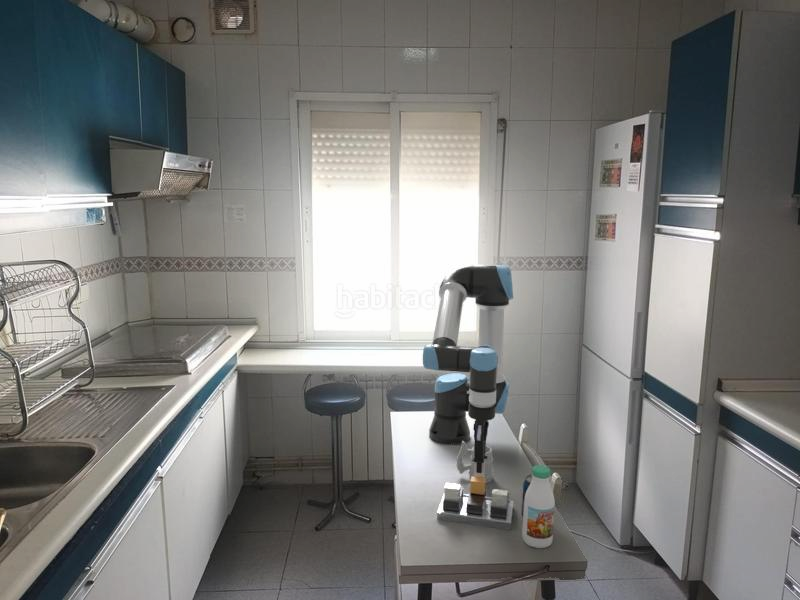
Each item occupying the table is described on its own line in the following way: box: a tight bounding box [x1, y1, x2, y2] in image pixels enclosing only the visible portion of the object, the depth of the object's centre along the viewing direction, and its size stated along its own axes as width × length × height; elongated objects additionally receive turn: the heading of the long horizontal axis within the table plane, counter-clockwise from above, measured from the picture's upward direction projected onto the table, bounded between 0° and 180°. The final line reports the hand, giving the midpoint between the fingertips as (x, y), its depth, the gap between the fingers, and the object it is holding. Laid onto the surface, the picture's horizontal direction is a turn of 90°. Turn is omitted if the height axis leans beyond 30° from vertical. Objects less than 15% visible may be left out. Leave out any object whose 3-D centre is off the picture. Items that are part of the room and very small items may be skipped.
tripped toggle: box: [469, 477, 487, 495], centre depth 165 cm, size 3×4×4 cm
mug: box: [455, 441, 494, 484], centre depth 183 cm, size 8×12×12 cm, turn 84°
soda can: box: [521, 474, 533, 518], centre depth 159 cm, size 7×7×12 cm
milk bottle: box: [521, 464, 556, 549], centre depth 149 cm, size 8×8×20 cm
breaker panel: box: [436, 482, 514, 531], centre depth 163 cm, size 12×20×9 cm, turn 76°
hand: (479, 481), depth 167 cm, fingers closed
